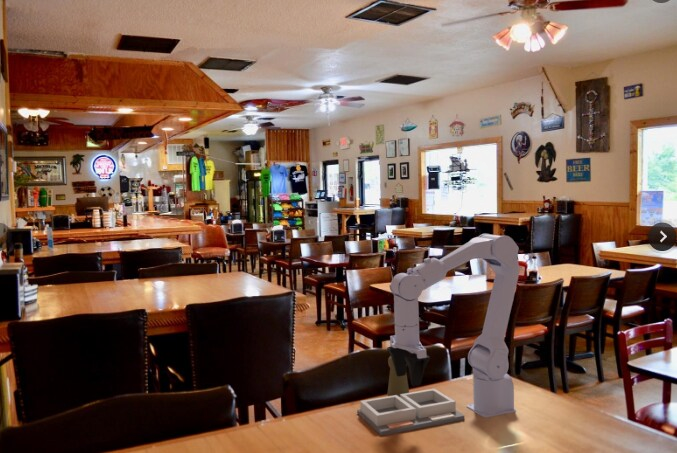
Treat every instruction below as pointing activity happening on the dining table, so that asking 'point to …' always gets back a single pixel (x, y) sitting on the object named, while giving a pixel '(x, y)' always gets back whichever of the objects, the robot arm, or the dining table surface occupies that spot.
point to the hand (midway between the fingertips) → (408, 380)
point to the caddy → (409, 411)
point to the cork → (396, 381)
